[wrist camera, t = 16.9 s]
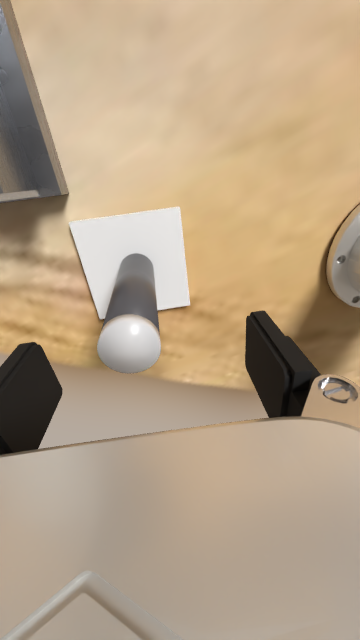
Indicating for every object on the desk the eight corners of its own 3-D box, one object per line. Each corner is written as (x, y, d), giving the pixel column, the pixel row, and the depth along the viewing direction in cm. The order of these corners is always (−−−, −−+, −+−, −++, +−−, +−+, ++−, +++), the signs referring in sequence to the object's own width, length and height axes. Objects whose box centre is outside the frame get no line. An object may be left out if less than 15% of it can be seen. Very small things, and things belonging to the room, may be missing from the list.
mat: (178, 206, 21) (180, 207, 20) (188, 301, 25) (190, 305, 25) (71, 221, 20) (68, 222, 20) (101, 315, 25) (99, 319, 24)
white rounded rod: (150, 251, 21) (155, 317, 11) (156, 283, 23) (164, 367, 13) (116, 256, 21) (89, 328, 11) (124, 287, 23) (106, 377, 13)
